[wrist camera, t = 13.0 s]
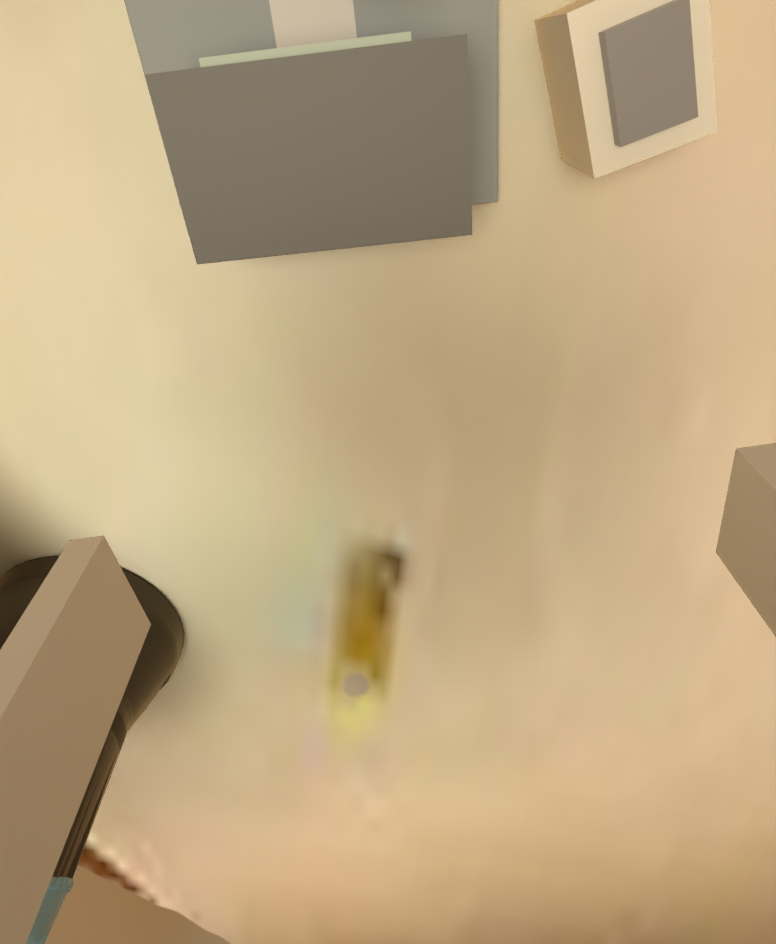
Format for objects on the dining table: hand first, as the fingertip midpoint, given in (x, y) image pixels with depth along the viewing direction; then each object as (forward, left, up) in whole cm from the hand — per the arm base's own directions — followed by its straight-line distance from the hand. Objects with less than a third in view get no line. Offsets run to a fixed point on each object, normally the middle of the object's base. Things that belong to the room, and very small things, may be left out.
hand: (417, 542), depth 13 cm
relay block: (+10, +7, -24) cm, 27 cm away
